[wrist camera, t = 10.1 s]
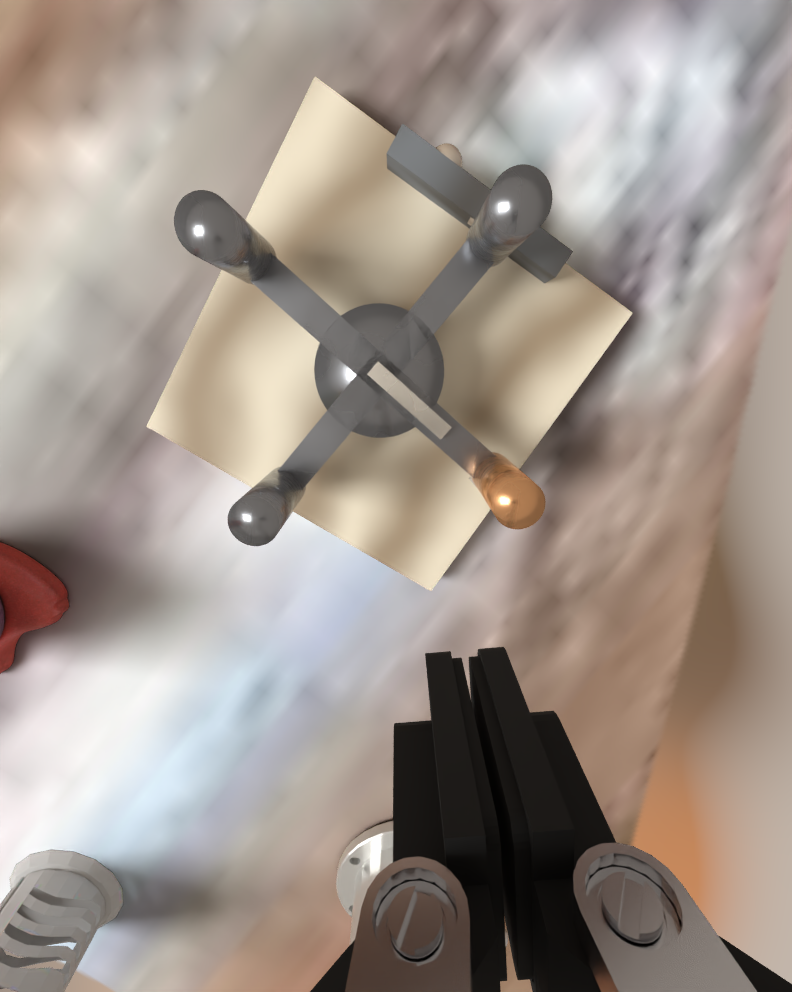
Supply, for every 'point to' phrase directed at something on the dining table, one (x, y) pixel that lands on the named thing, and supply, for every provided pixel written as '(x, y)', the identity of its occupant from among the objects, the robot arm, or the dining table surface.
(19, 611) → the stacking bear
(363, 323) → the capstan
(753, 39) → the dining table surface
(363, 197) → the stand
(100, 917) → the french press
